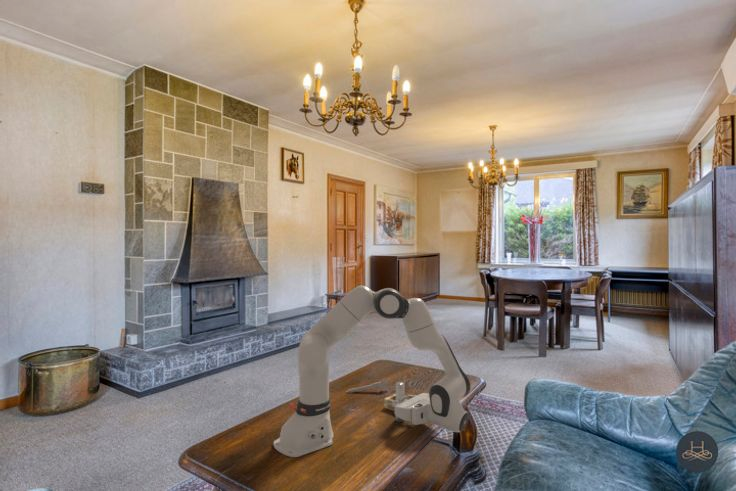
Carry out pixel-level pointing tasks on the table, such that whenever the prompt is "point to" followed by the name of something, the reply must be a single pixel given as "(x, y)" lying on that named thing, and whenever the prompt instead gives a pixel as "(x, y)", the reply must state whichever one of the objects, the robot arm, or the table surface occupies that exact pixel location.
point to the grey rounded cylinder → (400, 395)
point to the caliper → (374, 385)
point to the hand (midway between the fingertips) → (400, 400)
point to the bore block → (390, 402)
